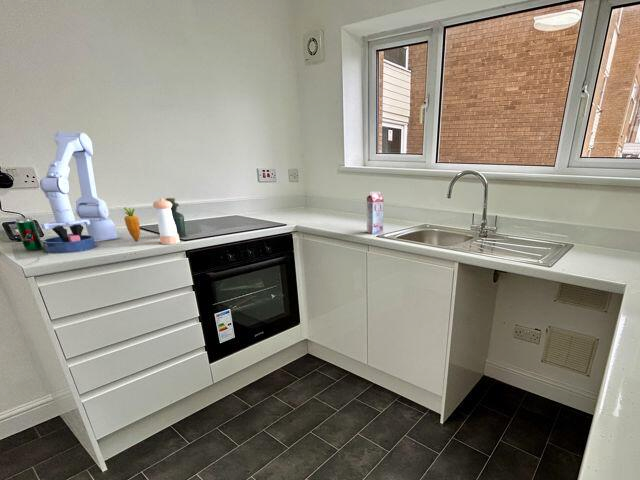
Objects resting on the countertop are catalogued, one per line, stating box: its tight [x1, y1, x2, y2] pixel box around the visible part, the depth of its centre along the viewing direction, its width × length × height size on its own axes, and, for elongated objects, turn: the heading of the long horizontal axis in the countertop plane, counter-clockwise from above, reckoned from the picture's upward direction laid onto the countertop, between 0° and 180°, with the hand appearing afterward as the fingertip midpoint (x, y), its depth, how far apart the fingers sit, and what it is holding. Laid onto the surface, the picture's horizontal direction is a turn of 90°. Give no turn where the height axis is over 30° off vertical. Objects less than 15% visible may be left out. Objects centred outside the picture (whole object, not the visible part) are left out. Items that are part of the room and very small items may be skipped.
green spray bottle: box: [165, 197, 187, 239], centre depth 166 cm, size 8×8×18 cm
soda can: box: [15, 217, 44, 252], centre depth 136 cm, size 5×5×12 cm
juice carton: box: [366, 191, 384, 235], centre depth 193 cm, size 7×7×22 cm
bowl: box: [41, 234, 97, 254], centre depth 141 cm, size 15×15×4 cm
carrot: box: [123, 206, 141, 242], centre depth 155 cm, size 5×5×15 cm
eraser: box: [67, 233, 80, 242], centre depth 140 cm, size 3×6×5 cm, turn 66°
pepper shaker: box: [152, 197, 181, 245], centre depth 154 cm, size 7×7×19 cm
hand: (73, 244), depth 141 cm, fingers closed on eraser, 3 cm apart
